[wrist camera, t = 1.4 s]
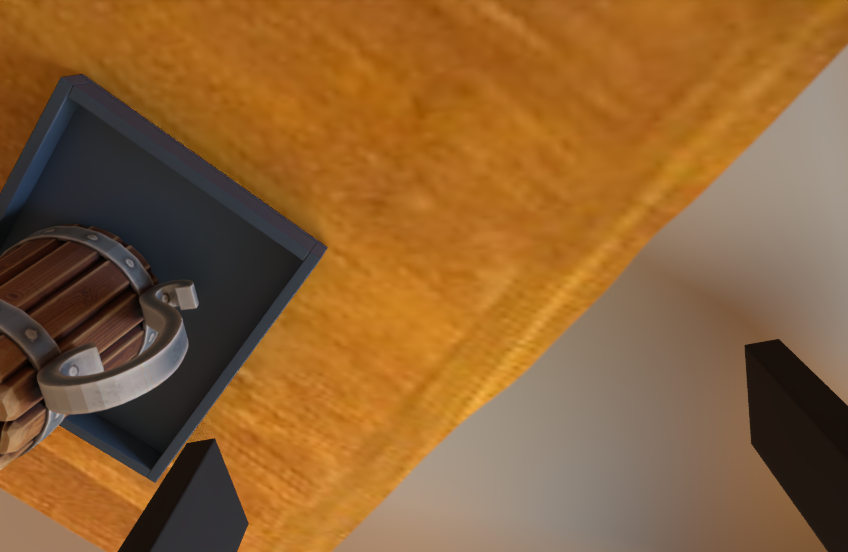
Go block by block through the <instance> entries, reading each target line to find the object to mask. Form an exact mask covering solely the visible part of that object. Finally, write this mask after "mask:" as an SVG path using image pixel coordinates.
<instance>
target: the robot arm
mask: <svg viewBox="0 0 848 552" xmlns="http://www.w3.org/2000/svg"><path fill="white" fill-rule="evenodd" d="M745 358H746V373H747V388H748V403H749V418H750V430H751V444H752V445H753V447H754V448H755V450H756V451H757V452H758V454H759V455H760V457H761V458H762V459H763V461H764V462H765V464H766V465H767V466H768V468H769V469H770V471H771V472H772V474H773V475H774V476H775V478H776V479H777V481H778V482H779V483H780V485H781V486H782V488H783V489H784V490H785V492H786V493H787V495H788V496H789V497H790V499H791V500H792V501H793V503H794V505H795V506H796V507H797V509H798V510H799V512H800V513H801V514H802V516H803V517H804V519H805V520H806V521H807V523H808V524H809V526H810V527H811V528H812V530H813V531H814V533H815V534H816V536H817V537H818V538H819V540H820V541H821V543H822V544H823V545H824V547H825V548H826V550H827V551H828V552H848V406H847V405H846V404H845V403H844V402H843V401H842V400H841V399H840V398H839V397H838V396H837V395H836V394H835V393H834V392H833V391H832V390H831V389H830V388H829V387H828V386H827V385H826V384H824V382H823V381H822V380H821V379H819V378H818V377H817V376H816V375H815V374H814V373H813V372H812V371H811V370H810V369H809V368H808V367H807V366H806V365H805V364H804V363H803V362H802V361H801V360H800V359H799V358H798V357H797V356H796V355H795V354H794V353H793V352H792V351H791V350H789V348H788V347H786V346H785V345H784V344H783V343H782V342H781V341H780V340H779V339H776V340H770V341H765V342H759V343H754V344H748V345H745ZM248 524H249V523H248V521H247V518H246V516H245V513H244V511H243V508H242V506H241V503H240V501H239V498H238V496H237V493H236V490H235V488H234V485H233V483H232V480H231V478H230V475H229V473H228V470H227V468H226V465H225V463H224V460H223V458H222V455H221V453H220V450H219V447H218V445H217V442H216V440H215V438H214V439H208V440H203V441H197V442H191V443H187V444H186V446H185V447H184V449H183V450H182V452H181V453H180V455H179V456H178V458H177V460H176V461H175V463H174V464H173V466H172V467H171V469H170V471H169V472H168V474H167V475H166V477H165V478H164V480H163V482H162V483H161V485H160V486H159V488H158V489H157V491H156V492H155V494H154V496H153V497H152V499H151V500H150V502H149V503H148V505H147V507H146V508H145V510H144V511H143V513H142V514H141V516H140V518H139V519H138V521H137V522H136V524H135V525H134V527H133V529H132V530H131V532H130V533H129V535H128V536H127V538H126V539H125V541H124V543H123V544H122V546H121V547H120V549H119V550H118V552H237V550H238V548H239V545H240V543H241V541H242V538H243V536H244V533H245V531H246V528H247V526H248Z"/></svg>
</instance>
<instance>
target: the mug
mask: <svg viewBox="0 0 848 552" xmlns="http://www.w3.org/2000/svg"><path fill="white" fill-rule="evenodd" d="M198 304H199V302H198V298H197V294H196V291H195V287H194V283H193V281H191V280H184V279H182V280H173V281H169V282H165V283H161V284H159V282H158V279H157V277H156V276H155V275H154V274H153V273H152V272H151V267H150V265H149V264H148V263H147V261H146V260H145V259H144V258H143V256H142V255H141V254H140V253H139V252H138V251H137V250H135V249H134V248H133V247H132V246H131V245H129V244H125V243H124V242H123V241H122V240H121V238H120V237H118V236H116V235H114V234H112V233H110V232H108V231H106V230H103V229H100V228H96V227H93V226H91V227H89V228H86V227H84V226H82V225H80V224H64V225H59V226H54V227H51V228H47V229H43V230H39V231H36V232H35V233H33V234H32V235H30V236H28V237H27V238H25V239H23V240H22V241H20V242H19V243H17V244H15V245H14V246H12V247H11V248H9V249H7V250H6V251H5V252H4V253H3V254H2V255H1V257H0V470H2V469H3V468H4V467H6V466H7V465H8V464H9V463H10V462H12V461H13V460H14V459H16V458H18V457H20V456H22V455H24V454H25V453H27V452H29V451H30V450H31V449H33V448H34V447H35V446H36V445H37V444H39V443H40V442H41V441H42V440H43V439H45V438H46V437H47V436H48V435H49V434H50V433H51V432H52V431H53V430H54V429H55V428H56V427H57V426H58V425H59V424H60V423H61V422H62V421H63V419H64V418H65V417H66V416H68V415H69V414H73V415H74V414H84V413H92V412H96V411H101V410H106V409H109V408H112V407H115V406H118V405H121V404H124V403H126V402H128V401H130V400H133V399H135V398H137V397H139V396H141V395H143V394H145V393H147V392H148V391H150V390H152V389H153V388H155V387H157V386H158V385H159V384H161V383H162V382H163V381H165V380H166V379H167V378H168V377H169V376H171V375H172V374H173V373H174V372H175V370H176V369H177V368H178V367H179V365H180V364H181V362H182V360H183V359H184V356H185V354H186V352H187V349H188V338H187V335H186V331H185V327H184V323H183V320H182V316H181V314H180V313H179V312H178V310H177V309H175V308H174V307H176V306H180V307H181V310H185V309H194V308H197V306H198ZM159 333H160V334H159ZM158 334H159V335H158ZM157 336H158V337H157ZM155 339H156V340H155ZM154 340H155V341H154Z"/></svg>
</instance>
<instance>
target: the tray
mask: <svg viewBox="0 0 848 552" xmlns="http://www.w3.org/2000/svg"><path fill="white" fill-rule="evenodd" d="M64 224H80V225H82V226H84V227H86V228H89V227H91V226H93V227H96V228H100V229H103V230H106V231H108V232H110V233H112V234H114V235H116V236H118V237H120V238H121V240H122V241H123V242H124V243H125V244H129V245H131V246H132V247H133V248H134V249H135V250H137V251H138V252H139V253H140V254H141V255H142V256H143V258H144V259H145V260H146V261H147V263H148V264H149V265H150V267H151V272H152V273H153V274H154V275H155V276H156V277H157V279H158V282H159V284H161V283H165V282H169V281H173V280H182V279H184V280H191V281H193V283H194V287H195V291H196V294H197V298H198V302H199V304H198V306H197V308H194V309H185V310H181V307H180V306H176V307H174V308H175V309H177V310H178V312H179V313H180V314H181V316H182V320H183V323H184V327H185V331H186V335H187V338H188V349H187V352H186V354H185V356H184V359H183V360H182V362H181V364H180V365H179V367H178V368H177V369H176V370H175V372H174V373H173V374H172V375H171V376H169V377H168V378H167V379H166V380H165V381H163V382H162V383H161V384H159V385H158V386H157V387H155V388H153V389H152V390H150V391H148V392H147V393H145V394H143V395H141V396H139V397H137V398H135V399H133V400H130V401H128V402H126V403H124V404H121V405H118V406H115V407H112V408H109V409H106V410H101V411H96V412H92V413H84V414H74V415H73V414H69V415H68V416H66V417H65V418H64V419H63V421H62V422H61V423H60V424H59V425H60V426H62V427H63V428H65V429H66V430H68V431H70V432H71V433H73V434H75V435H76V436H78V437H80V438H81V439H83V440H85V441H86V442H88V443H90V444H91V445H93V446H95V447H96V448H98V449H100V450H101V451H103V452H105V453H106V454H108V455H110V456H111V457H113V458H115V459H116V460H118V461H120V462H121V463H123V464H125V465H126V466H128V467H130V468H131V469H133V470H135V471H136V472H138V473H140V474H141V475H143V476H145V477H146V478H148V479H150V480H151V481H153V482H155V483H156V482H157V480H158V479H159V478H160V476H161V475H162V473H163V472H164V471H165V469H166V468H167V467H168V465H169V464H170V463H171V461H172V460H173V459H174V457H175V456H176V455H177V453H178V452H179V450H180V449H181V448H182V446H183V445H184V444H185V442H186V441H187V440H188V438H189V437H190V436H191V434H192V433H193V431H194V430H195V429H196V427H197V426H198V425H199V423H200V422H201V421H202V419H203V418H204V417H205V415H206V414H207V413H208V411H209V410H210V408H211V407H212V406H213V404H214V403H215V402H216V400H217V399H218V398H219V396H220V395H221V394H222V392H223V391H224V390H225V388H226V387H227V385H228V384H229V383H230V381H231V380H232V379H233V377H234V376H235V375H236V373H237V372H238V371H239V369H240V368H241V367H242V365H243V364H244V362H245V361H246V360H247V358H248V357H249V356H250V354H251V353H252V352H253V350H254V349H255V348H256V346H257V345H258V343H259V342H260V341H261V339H262V338H263V337H264V335H265V334H266V333H267V331H268V330H269V329H270V327H271V326H272V325H273V323H274V322H275V320H276V319H277V318H278V316H279V315H280V314H281V312H282V311H283V310H284V308H285V307H286V306H287V304H288V303H289V302H290V300H291V299H292V297H293V296H294V295H295V293H296V292H297V291H298V289H299V288H300V287H301V285H302V284H303V283H304V281H305V280H306V279H307V277H308V276H309V274H310V273H311V272H312V270H313V269H314V268H315V266H316V265H317V264H318V262H319V261H320V260H321V258H322V256H323V255H324V253H325V251H326V250H327V247H326V246H325V245H323V244H322V243H321V242H319V241H318V240H316V239H315V238H313V237H312V236H311V235H309V234H308V233H306V232H305V231H304V230H302V229H301V228H299V227H298V226H297V225H295V224H294V223H292V222H291V221H289V220H288V219H287V218H285V217H284V216H282V215H281V214H280V213H278V212H277V211H275V210H274V209H273V208H271V207H270V206H268V205H267V204H265V203H264V202H263V201H261V200H260V199H258V198H257V197H256V196H254V195H253V194H251V193H250V192H249V191H247V190H246V189H244V188H243V187H241V186H240V185H239V184H237V183H236V182H234V181H233V180H232V179H230V178H229V177H227V176H226V175H225V174H223V173H222V172H220V171H219V170H217V169H216V168H215V167H213V166H212V165H210V164H209V163H208V162H206V161H205V160H203V159H202V158H201V157H199V156H198V155H196V154H195V153H194V152H192V151H191V150H189V149H188V148H186V147H185V146H184V145H182V144H181V143H179V142H178V141H177V140H175V139H174V138H172V137H171V136H170V135H168V134H167V133H165V132H164V131H162V130H161V129H160V128H158V127H157V126H155V125H154V124H153V123H151V122H150V121H148V120H147V119H146V118H144V117H143V116H141V115H140V114H138V113H137V112H136V111H134V110H133V109H131V108H130V107H129V106H127V105H126V104H124V103H123V102H122V101H120V100H119V99H117V98H116V97H114V96H113V95H112V94H110V93H109V92H107V91H106V90H105V89H103V88H102V87H100V86H99V85H98V84H96V83H95V82H93V81H92V80H90V79H89V78H88V77H86V76H85V75H83V74H80V75H73V76H64V77H61V78H60V80H59V82H58V84H57V86H56V88H55V90H54V92H53V93H52V95H51V97H50V99H49V101H48V103H47V105H46V107H45V109H44V111H43V113H42V115H41V116H40V118H39V120H38V122H37V124H36V126H35V128H34V130H33V132H32V134H31V136H30V138H29V139H28V141H27V143H26V145H25V147H24V149H23V151H22V153H21V155H20V157H19V159H18V161H17V162H16V164H15V166H14V168H13V170H12V172H11V174H10V176H9V178H8V180H7V182H6V184H5V185H4V187H3V189H2V191H1V193H0V257H1V255H2V254H3V253H4V252H5V251H6V250H7V249H9V248H11V247H12V246H14V245H15V244H17V243H19V242H20V241H22V240H23V239H25V238H27V237H28V236H30V235H32V234H33V233H35V232H36V231H39V230H43V229H47V228H51V227H54V226H59V225H64ZM159 334H160V333H159ZM159 334H158V335H159ZM157 337H158V336H157ZM155 340H156V339H155ZM155 340H154V341H155Z"/></svg>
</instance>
